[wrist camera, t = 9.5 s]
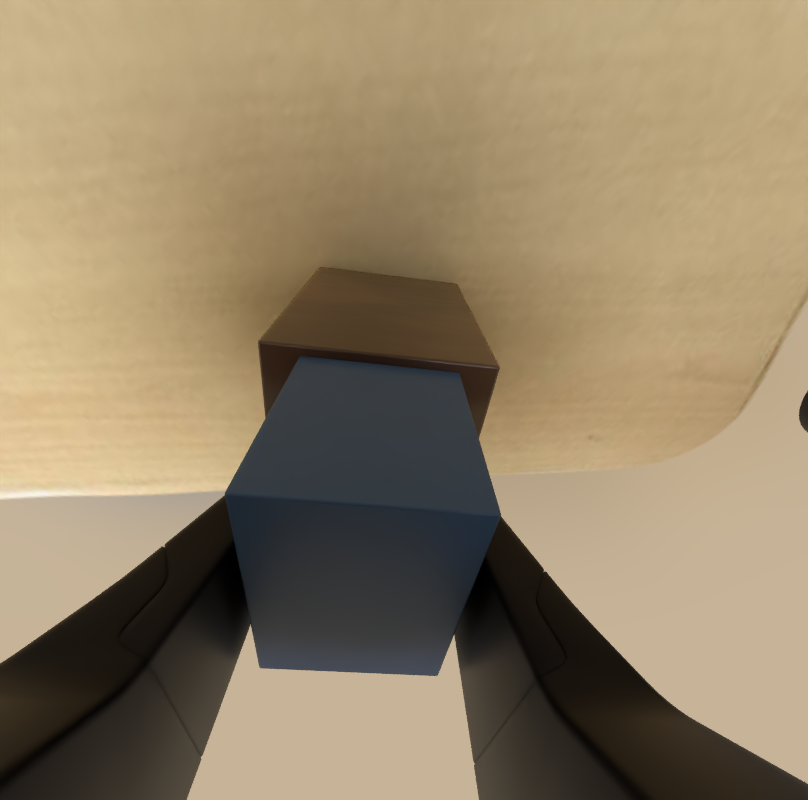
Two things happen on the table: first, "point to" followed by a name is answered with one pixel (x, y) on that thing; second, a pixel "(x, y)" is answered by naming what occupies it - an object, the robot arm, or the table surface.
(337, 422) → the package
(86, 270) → the table surface
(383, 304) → the brown block
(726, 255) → the table surface
